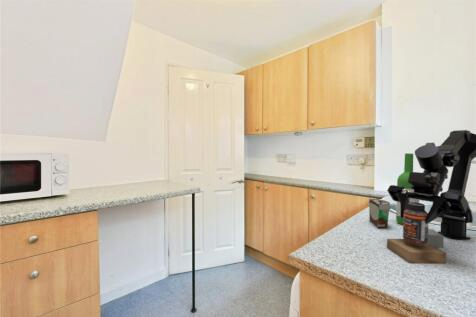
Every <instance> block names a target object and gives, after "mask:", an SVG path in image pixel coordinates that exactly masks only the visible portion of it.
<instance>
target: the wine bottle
mask: <svg viewBox="0 0 476 317" xmlns="http://www.w3.org/2000/svg"><path fill="white" fill-rule="evenodd" d="M403 167H404V168H403V170H404V171H403V172H402V173H401V174H399V175H398V178H397V181H396V186H404V188H405V190H407V191H411V192H414V190H413V189H412V188H411V186H412V184H410V183H408V182H407V181H408V178H409V174H410V172H414V153H411V152H410V153H407V152H406V153H405V152H404V166H403ZM409 201H410V202H416V203H420V200H417V199H413V198H410V200H409ZM395 208H396V209H395V210H396V212H395V215H396V216H395V222H396V223H398V224H399V225H402V226H403V219H404V218H401V204H400V202H397V201H396V207H395Z"/></svg>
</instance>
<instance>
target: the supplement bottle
mask: <svg viewBox="0 0 476 317" xmlns="http://www.w3.org/2000/svg"><path fill="white" fill-rule="evenodd" d="M425 209H426V205H425V204H424V203H422V202H419V203H416V202H409V203H408V209H406V210H404V219H403V225H402V226H403V227H402V239H404V240H406V241H408V242H410V243H414V244H426V243H427V242H428V229H429V223H428V224H426V223H425V219H426V216H427V214H428V213H429V212H428V211H426V210H425Z"/></svg>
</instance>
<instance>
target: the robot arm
mask: <svg viewBox="0 0 476 317" xmlns="http://www.w3.org/2000/svg"><path fill="white" fill-rule="evenodd" d="M414 150H415V151H414V155H415V157H416V160H417V163H418V164H419V167H420V168H421V169H423V171H422V172H418V171H413V172H410V174H409V178H408V181H407V182H408V183H410V184H412V186H411V188H412V189H413V190H414V192H411V191H407V190H405V188H404V186H397V184H396V185H395V184H391V185H389V186H388V188H387V190H386V191H387V192H388V194H389V196H390V198H391V200H392V201H394V202H396V203H397V202H400V204H401V218H404V210H406V209H408V203H409V202H410V201H409V200H410V198H413V199H417V200H419V201H423V202H430V203H432V205H431V207H430V208H429V211H428V212H427V213H428V214H427V216H426V219H425V223H426V224H428V225H429V224H430V223H431V222H433V221H434V220H436V219H437V218H439V219H440V218H441V222H440V231H437V232H438V233H439V234H441V235H443V236H444V237H448V238H449V239H452V240H453V239H454V240H471V237H470V236H467V224H473V222H474V221H473V220H474V217H473V212H472V210H471V206H470V202H468V200H467V197H466V196H465V193H466V188H467V185H468V184H467V183H468V179H469V175H470V170H471V165H472V161H473V160H474V159H475V158H476V133H473V132H471V131H470V130H467V129H464V130H463V129H461V130H452V131H450V132H449V135H448V137H446V139H445V140H444V141H443V142H442V143H441V144H440V145H438V146H437V145H436V144H435V142H426V143H425V144H424V145H421V146H419V147H418V148H416V149H414ZM448 167H449V168H452V171H451V175H450V179H449V182H448V188H447V190H446V191H444V192H443V190H444V189H443V185H444V182H445V180H447V179H448V177H449V176H448V173H449V169H448ZM440 192H441V193H440ZM439 194H440V195H439Z"/></svg>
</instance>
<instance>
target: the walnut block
mask: <svg viewBox="0 0 476 317" xmlns="http://www.w3.org/2000/svg"><path fill="white" fill-rule="evenodd" d="M386 249H388V250H389V251H391V252H392V253H394V254H395V255H396V256H398V257H400V258H401V259H403V260H405V261H406V262H408V263H409V264H447V252H446V251H444V250H441V249H440V248H439V247H434V246H432V245H430V244H428V243H426V244H414V243H410V242H408V241H406V240H404V239H403V238H387V239H386Z"/></svg>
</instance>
